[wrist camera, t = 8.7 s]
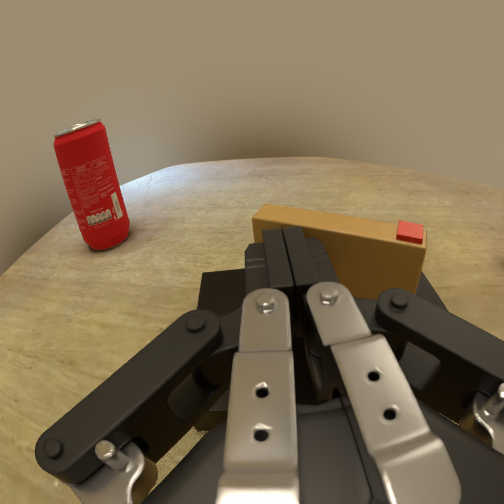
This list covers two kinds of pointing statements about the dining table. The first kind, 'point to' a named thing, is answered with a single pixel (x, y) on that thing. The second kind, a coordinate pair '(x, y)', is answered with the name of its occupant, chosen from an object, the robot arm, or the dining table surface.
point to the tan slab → (357, 247)
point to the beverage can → (92, 184)
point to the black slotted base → (231, 298)
